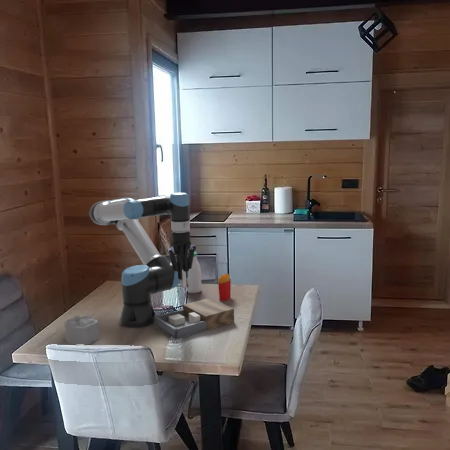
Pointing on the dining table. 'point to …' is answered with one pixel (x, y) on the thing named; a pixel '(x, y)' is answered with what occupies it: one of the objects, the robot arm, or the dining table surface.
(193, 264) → the milk bottle
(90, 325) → the knobbly-topped grey block
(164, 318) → the box
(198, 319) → the front tile
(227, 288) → the french fries
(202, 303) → the walnut platform
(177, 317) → the back tile
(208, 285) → the dining table surface
